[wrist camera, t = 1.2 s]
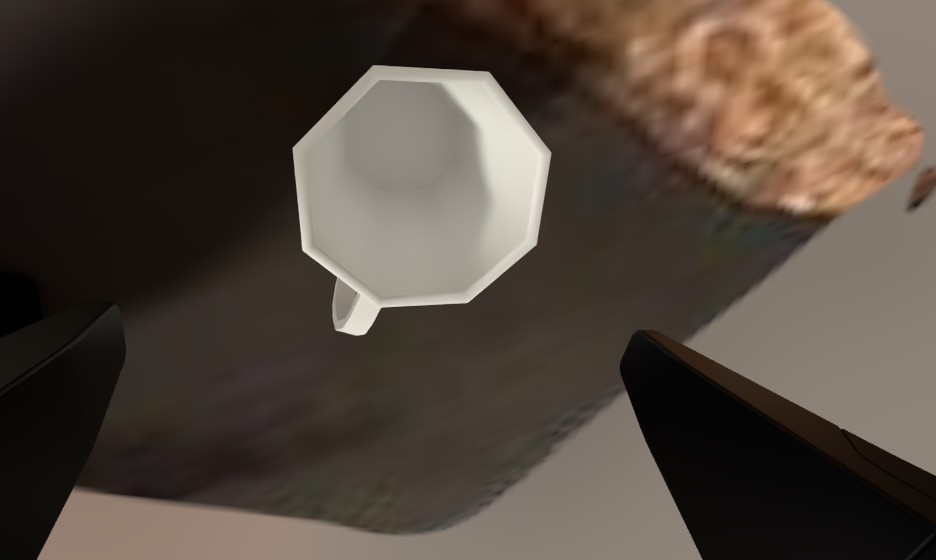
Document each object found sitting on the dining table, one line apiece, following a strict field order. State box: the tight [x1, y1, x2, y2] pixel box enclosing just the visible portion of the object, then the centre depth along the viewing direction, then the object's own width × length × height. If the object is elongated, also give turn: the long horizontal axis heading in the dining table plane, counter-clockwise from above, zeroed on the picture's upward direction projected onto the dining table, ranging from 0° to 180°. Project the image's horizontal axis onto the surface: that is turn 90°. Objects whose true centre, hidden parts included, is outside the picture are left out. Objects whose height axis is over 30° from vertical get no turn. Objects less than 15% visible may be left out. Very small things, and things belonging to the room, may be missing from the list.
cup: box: [293, 65, 551, 335], centre depth 17 cm, size 7×10×8 cm
